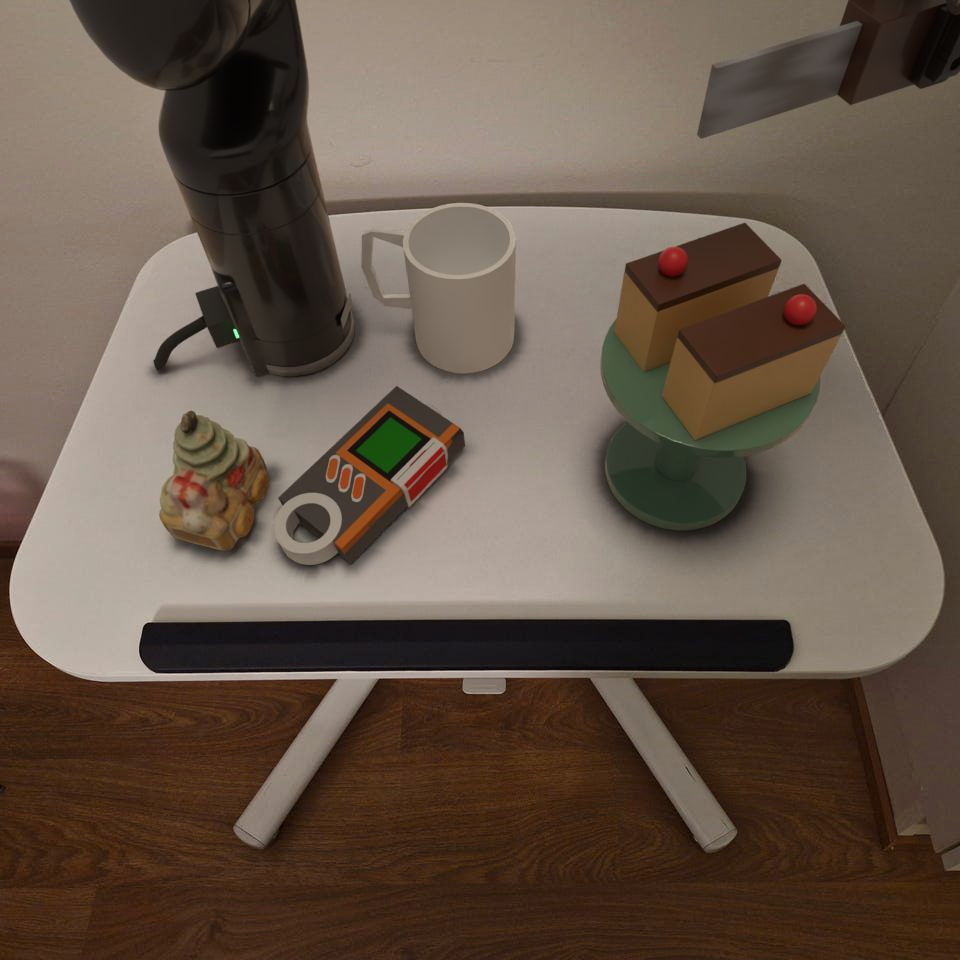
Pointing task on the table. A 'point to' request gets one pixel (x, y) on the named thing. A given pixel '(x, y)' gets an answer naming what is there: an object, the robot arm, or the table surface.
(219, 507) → the ornament
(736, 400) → the cake
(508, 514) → the table surface
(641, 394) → the cake stand
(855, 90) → the knife
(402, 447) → the electronic device
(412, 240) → the cup
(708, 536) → the table surface
